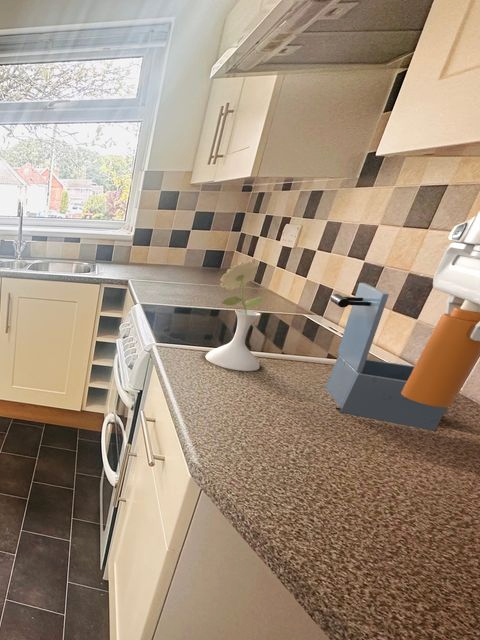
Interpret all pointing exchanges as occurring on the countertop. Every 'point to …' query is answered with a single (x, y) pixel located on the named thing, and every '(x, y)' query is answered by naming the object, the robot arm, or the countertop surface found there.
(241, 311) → the flower in vase
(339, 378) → the box
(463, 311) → the bottle
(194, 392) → the countertop surface
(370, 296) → the lid
